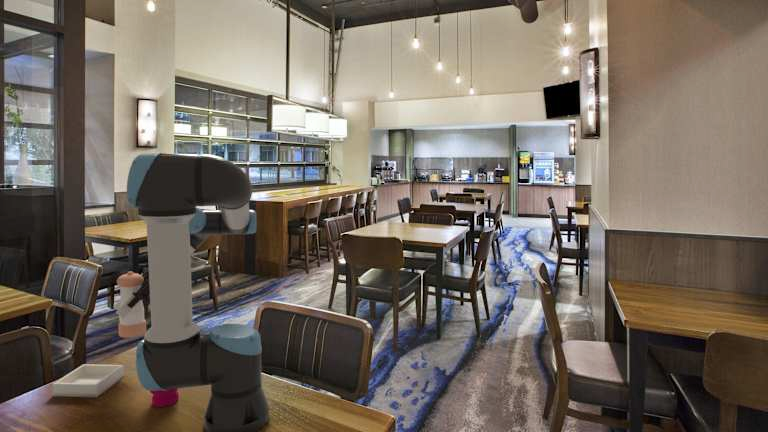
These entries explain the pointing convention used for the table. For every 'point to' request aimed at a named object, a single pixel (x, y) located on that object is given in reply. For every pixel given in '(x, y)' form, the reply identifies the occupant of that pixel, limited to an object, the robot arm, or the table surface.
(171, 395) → the pepper mill
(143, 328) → the pepper shaker
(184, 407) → the table surface
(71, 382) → the tray
